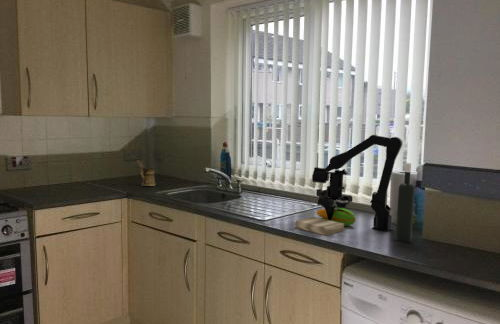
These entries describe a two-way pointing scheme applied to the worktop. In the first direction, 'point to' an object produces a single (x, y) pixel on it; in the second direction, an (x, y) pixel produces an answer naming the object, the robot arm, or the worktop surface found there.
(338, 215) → the corn
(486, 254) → the worktop surface
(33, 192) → the worktop surface
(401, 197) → the wine bottle
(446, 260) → the worktop surface
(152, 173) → the wooden mug
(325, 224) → the birch base
